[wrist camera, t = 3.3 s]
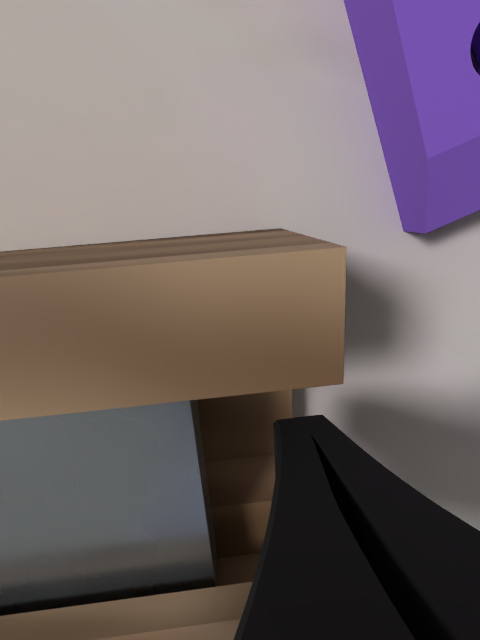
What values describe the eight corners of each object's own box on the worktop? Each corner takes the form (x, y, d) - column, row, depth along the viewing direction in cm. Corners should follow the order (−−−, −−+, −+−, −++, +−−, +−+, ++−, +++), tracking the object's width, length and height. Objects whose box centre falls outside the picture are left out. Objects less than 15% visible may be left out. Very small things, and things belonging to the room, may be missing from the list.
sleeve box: (290, 498, 14) (336, 670, 9) (-5, 535, 14) (-142, 742, 8) (280, 228, 11) (346, 247, 6) (-115, 261, 10) (-469, 317, 5)
